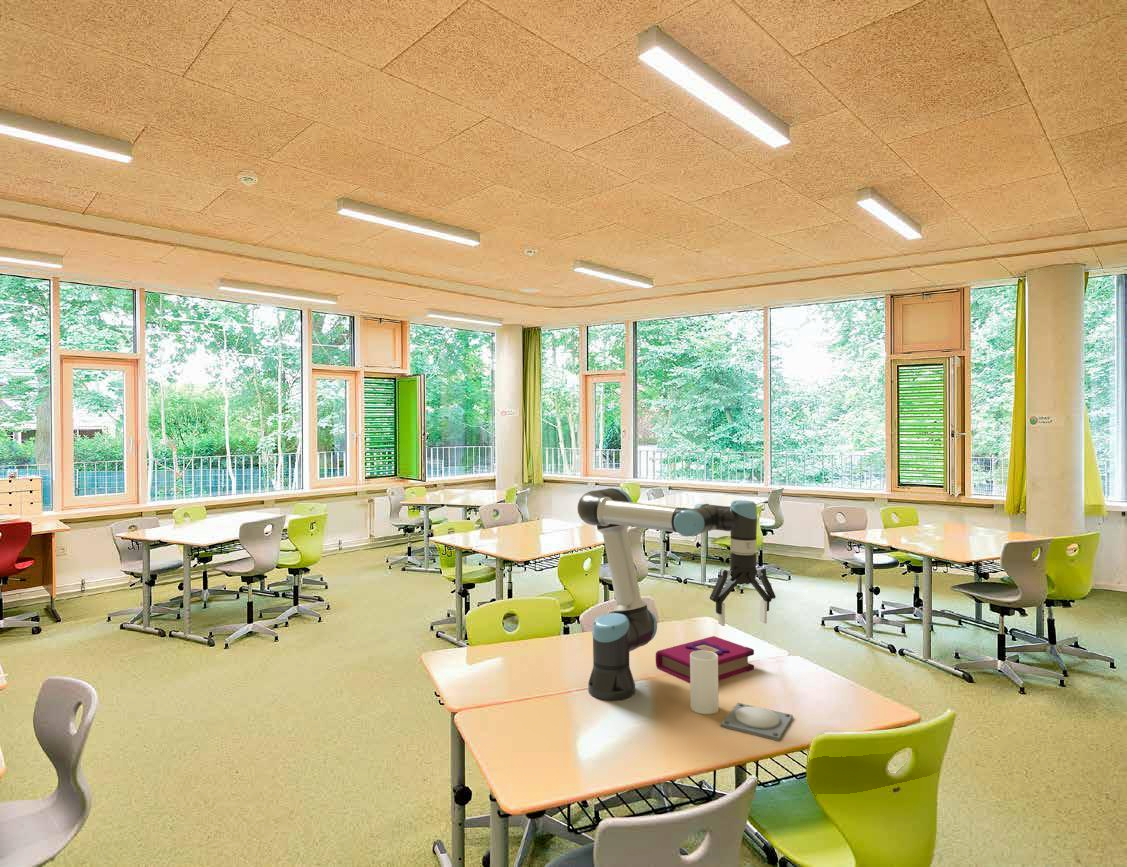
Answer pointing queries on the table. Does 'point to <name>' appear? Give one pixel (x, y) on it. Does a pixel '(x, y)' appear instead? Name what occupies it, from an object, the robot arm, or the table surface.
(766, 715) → the flange board
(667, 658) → the book
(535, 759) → the table surface
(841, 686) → the table surface
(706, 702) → the cup
